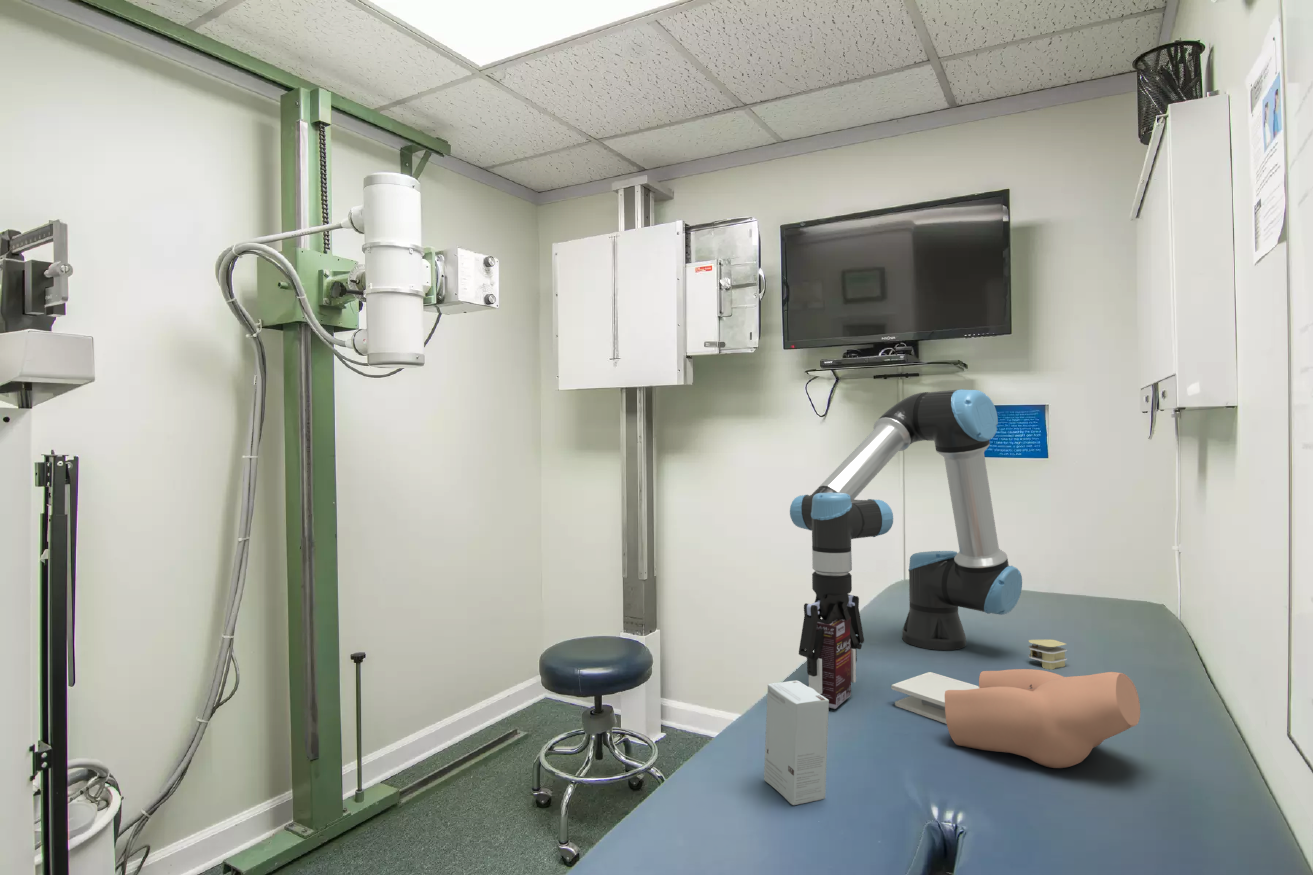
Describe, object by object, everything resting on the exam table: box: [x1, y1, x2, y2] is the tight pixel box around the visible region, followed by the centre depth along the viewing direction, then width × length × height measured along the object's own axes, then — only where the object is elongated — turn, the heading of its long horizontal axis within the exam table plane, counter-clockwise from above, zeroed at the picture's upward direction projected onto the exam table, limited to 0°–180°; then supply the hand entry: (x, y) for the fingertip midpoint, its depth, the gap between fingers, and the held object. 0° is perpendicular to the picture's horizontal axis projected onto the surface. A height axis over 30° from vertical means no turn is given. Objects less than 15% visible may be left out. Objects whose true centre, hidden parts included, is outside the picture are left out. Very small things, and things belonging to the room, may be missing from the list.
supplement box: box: [816, 617, 852, 710], centre depth 136 cm, size 9×5×16 cm, turn 144°
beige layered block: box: [1027, 639, 1068, 670], centre depth 159 cm, size 10×9×6 cm
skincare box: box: [763, 680, 830, 806], centre depth 102 cm, size 8×6×15 cm
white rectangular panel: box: [890, 671, 979, 725], centre depth 133 cm, size 13×13×4 cm
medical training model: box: [945, 668, 1141, 769], centre depth 114 cm, size 21×25×13 cm
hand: (832, 685), depth 136 cm, fingers closed on supplement box, 9 cm apart
